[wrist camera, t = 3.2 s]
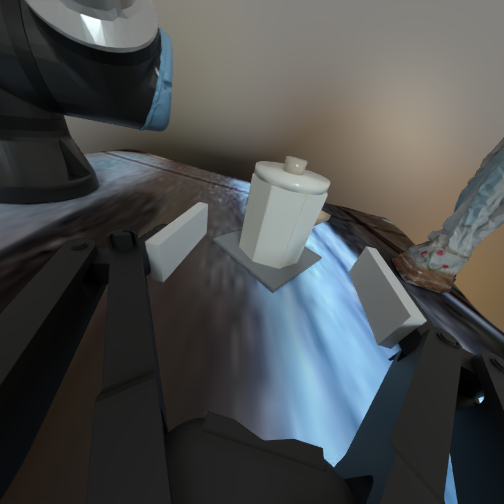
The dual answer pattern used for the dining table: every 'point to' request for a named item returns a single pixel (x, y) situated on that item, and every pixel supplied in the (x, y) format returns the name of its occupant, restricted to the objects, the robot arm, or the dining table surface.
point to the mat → (265, 273)
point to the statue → (458, 229)
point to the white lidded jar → (281, 211)
